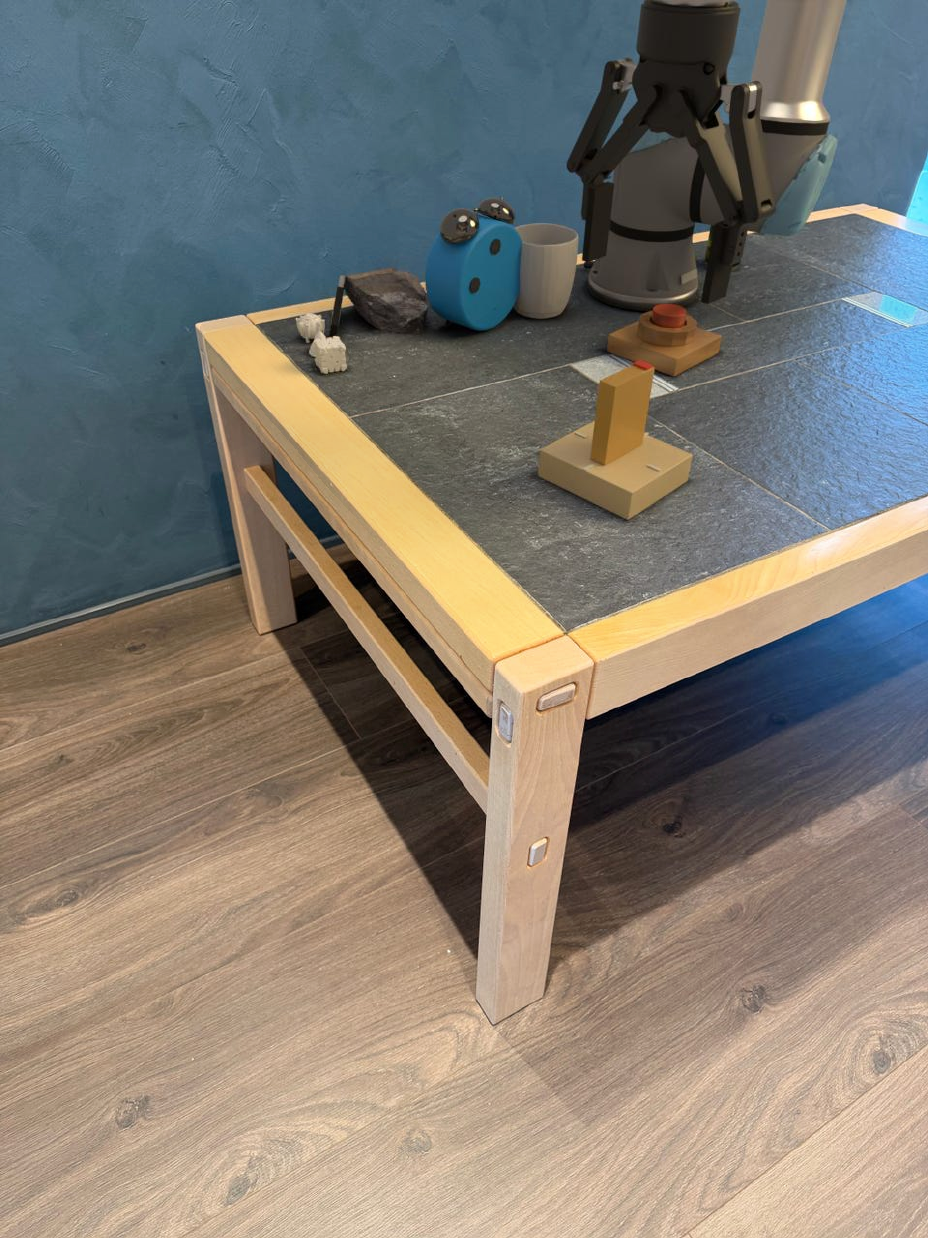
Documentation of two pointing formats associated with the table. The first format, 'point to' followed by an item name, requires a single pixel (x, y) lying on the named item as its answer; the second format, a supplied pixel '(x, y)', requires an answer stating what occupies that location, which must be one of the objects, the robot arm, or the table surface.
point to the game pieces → (322, 344)
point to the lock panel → (615, 472)
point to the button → (668, 316)
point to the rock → (389, 300)
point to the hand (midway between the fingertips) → (650, 278)
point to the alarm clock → (475, 266)
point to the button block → (664, 344)
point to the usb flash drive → (337, 308)
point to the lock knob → (621, 412)
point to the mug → (546, 269)
